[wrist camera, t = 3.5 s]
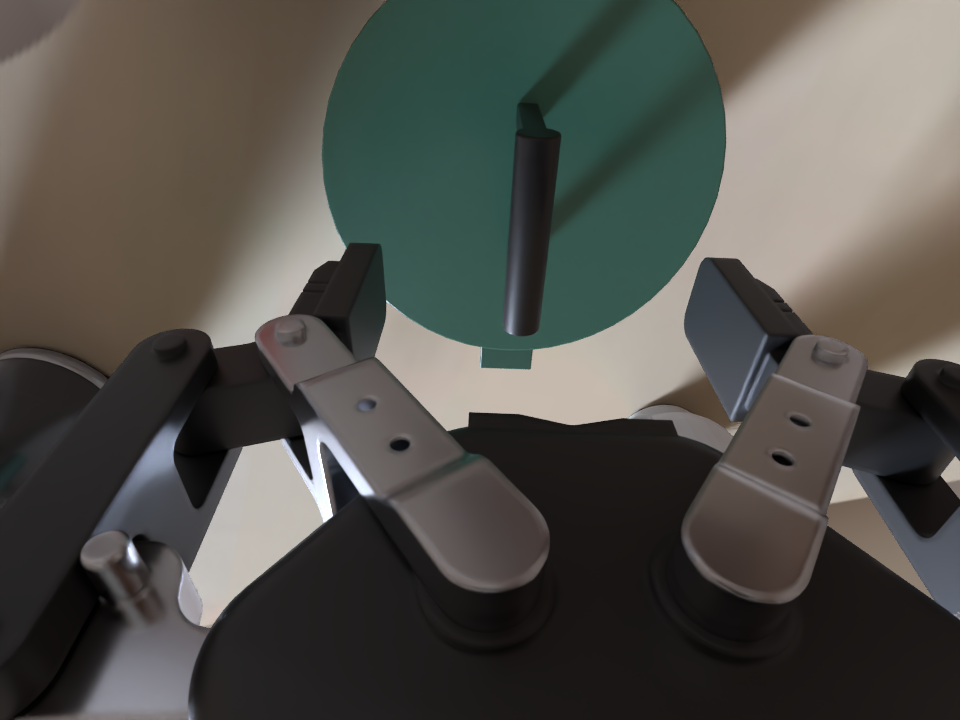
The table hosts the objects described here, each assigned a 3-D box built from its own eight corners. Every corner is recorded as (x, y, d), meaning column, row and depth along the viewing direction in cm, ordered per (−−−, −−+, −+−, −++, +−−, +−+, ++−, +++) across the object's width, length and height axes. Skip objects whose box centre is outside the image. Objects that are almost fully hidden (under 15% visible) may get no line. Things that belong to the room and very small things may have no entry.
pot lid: (351, 331, 24) (315, 425, 19) (299, -70, 16) (213, -86, 11) (664, 342, 25) (709, 438, 20) (774, -50, 16) (903, -58, 11)
